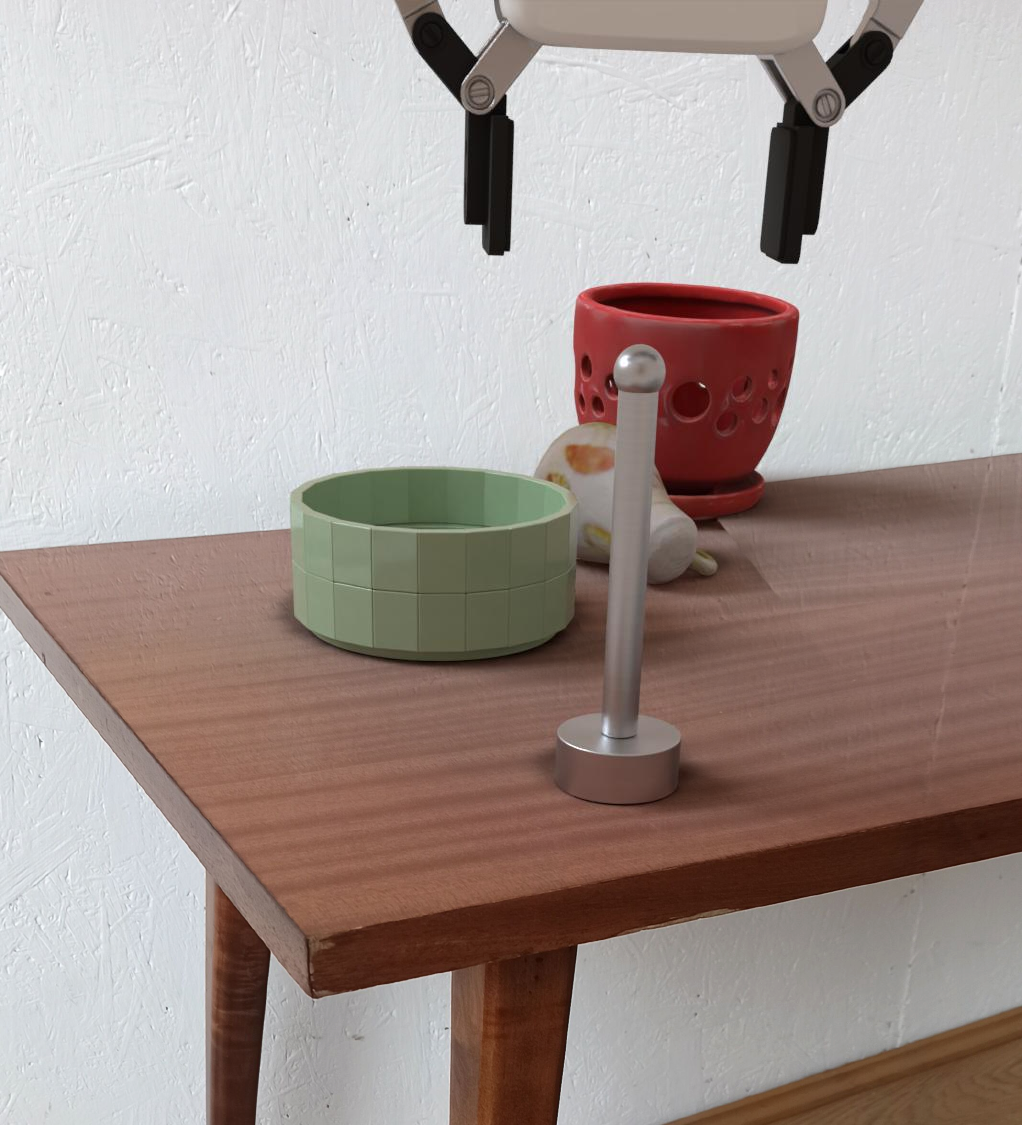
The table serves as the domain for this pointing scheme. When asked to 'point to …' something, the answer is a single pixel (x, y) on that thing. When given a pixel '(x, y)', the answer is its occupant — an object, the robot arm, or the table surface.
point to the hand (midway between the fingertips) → (638, 255)
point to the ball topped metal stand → (625, 620)
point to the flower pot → (694, 381)
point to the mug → (589, 474)
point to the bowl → (433, 561)
